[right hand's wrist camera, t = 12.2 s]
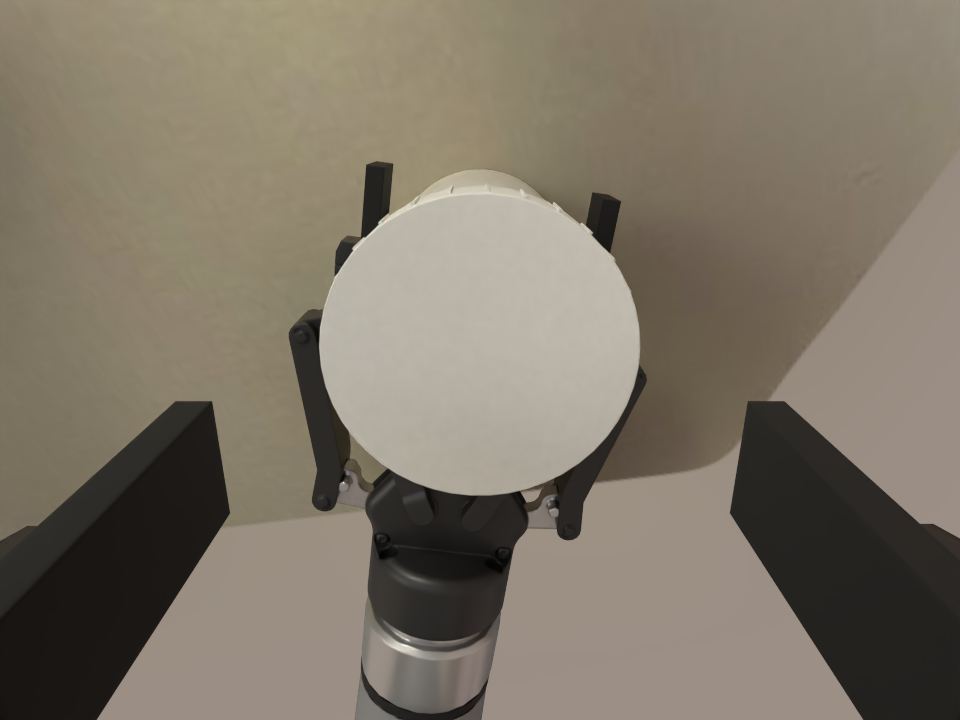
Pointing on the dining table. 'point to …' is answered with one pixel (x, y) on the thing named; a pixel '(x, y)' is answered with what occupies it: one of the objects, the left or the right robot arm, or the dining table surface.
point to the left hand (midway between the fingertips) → (494, 180)
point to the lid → (479, 341)
